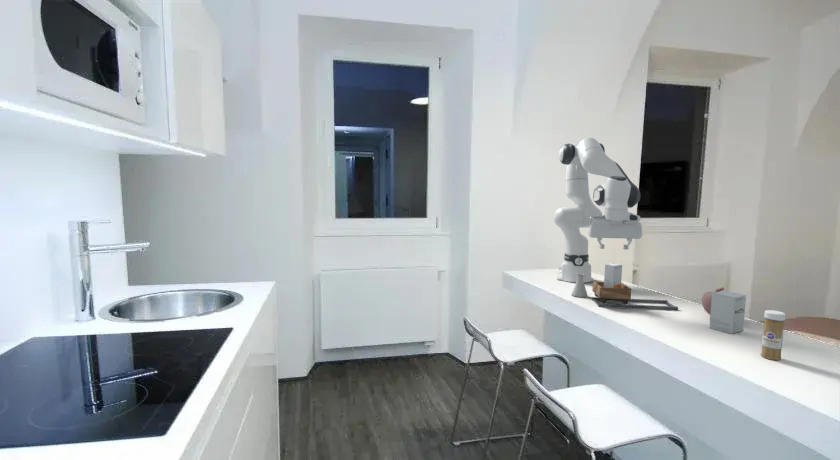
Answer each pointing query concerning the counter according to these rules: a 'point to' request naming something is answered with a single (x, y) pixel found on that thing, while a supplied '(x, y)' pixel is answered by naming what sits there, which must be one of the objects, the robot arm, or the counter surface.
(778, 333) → the sprinkles bottle
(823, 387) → the counter surface
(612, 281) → the skincare box
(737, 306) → the supplement box
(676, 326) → the counter surface
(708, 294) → the mortar and pestle
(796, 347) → the counter surface
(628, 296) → the cart
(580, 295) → the flask
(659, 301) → the rail track
